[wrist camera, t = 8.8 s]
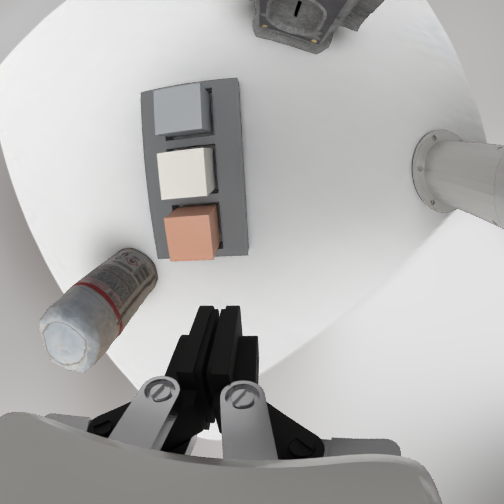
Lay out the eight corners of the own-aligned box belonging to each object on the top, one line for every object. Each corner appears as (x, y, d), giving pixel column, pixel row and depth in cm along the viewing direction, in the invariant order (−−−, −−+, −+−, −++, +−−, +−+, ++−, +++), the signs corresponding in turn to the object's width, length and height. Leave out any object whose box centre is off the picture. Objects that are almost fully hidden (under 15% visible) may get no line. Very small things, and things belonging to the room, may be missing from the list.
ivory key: (212, 148, 31) (203, 147, 26) (215, 188, 33) (207, 195, 28) (173, 152, 32) (156, 153, 26) (177, 191, 33) (161, 200, 28)
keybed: (238, 83, 30) (237, 77, 27) (248, 247, 38) (247, 255, 35) (149, 96, 30) (140, 92, 28) (164, 251, 38) (157, 258, 35)
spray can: (100, 262, 39) (23, 334, 20) (133, 234, 37) (49, 304, 19) (133, 303, 42) (74, 390, 23) (168, 279, 40) (111, 373, 21)
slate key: (209, 93, 29) (199, 82, 23) (211, 132, 31) (202, 128, 25) (170, 99, 29) (153, 90, 24) (172, 137, 31) (155, 135, 25)
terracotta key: (217, 203, 34) (208, 214, 28) (220, 241, 36) (213, 259, 30) (178, 206, 34) (163, 218, 29) (183, 243, 36) (170, 261, 30)
